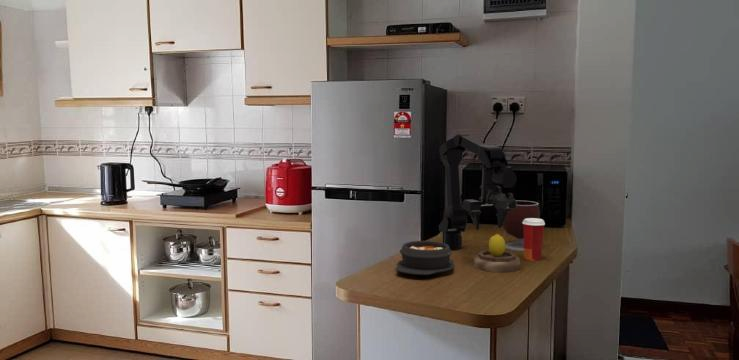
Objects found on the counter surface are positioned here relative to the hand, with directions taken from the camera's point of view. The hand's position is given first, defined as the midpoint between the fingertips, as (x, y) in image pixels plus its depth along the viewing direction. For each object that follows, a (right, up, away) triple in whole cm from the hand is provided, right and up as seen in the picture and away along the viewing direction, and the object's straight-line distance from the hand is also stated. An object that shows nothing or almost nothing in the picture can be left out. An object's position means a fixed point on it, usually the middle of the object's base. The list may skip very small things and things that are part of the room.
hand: (488, 228), depth 218 cm
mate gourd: (+16, -9, +24) cm, 30 cm away
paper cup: (+16, -11, +5) cm, 20 cm away
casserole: (-23, -13, -12) cm, 29 cm away
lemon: (+2, -9, -7) cm, 12 cm away
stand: (+2, -12, -6) cm, 14 cm away
